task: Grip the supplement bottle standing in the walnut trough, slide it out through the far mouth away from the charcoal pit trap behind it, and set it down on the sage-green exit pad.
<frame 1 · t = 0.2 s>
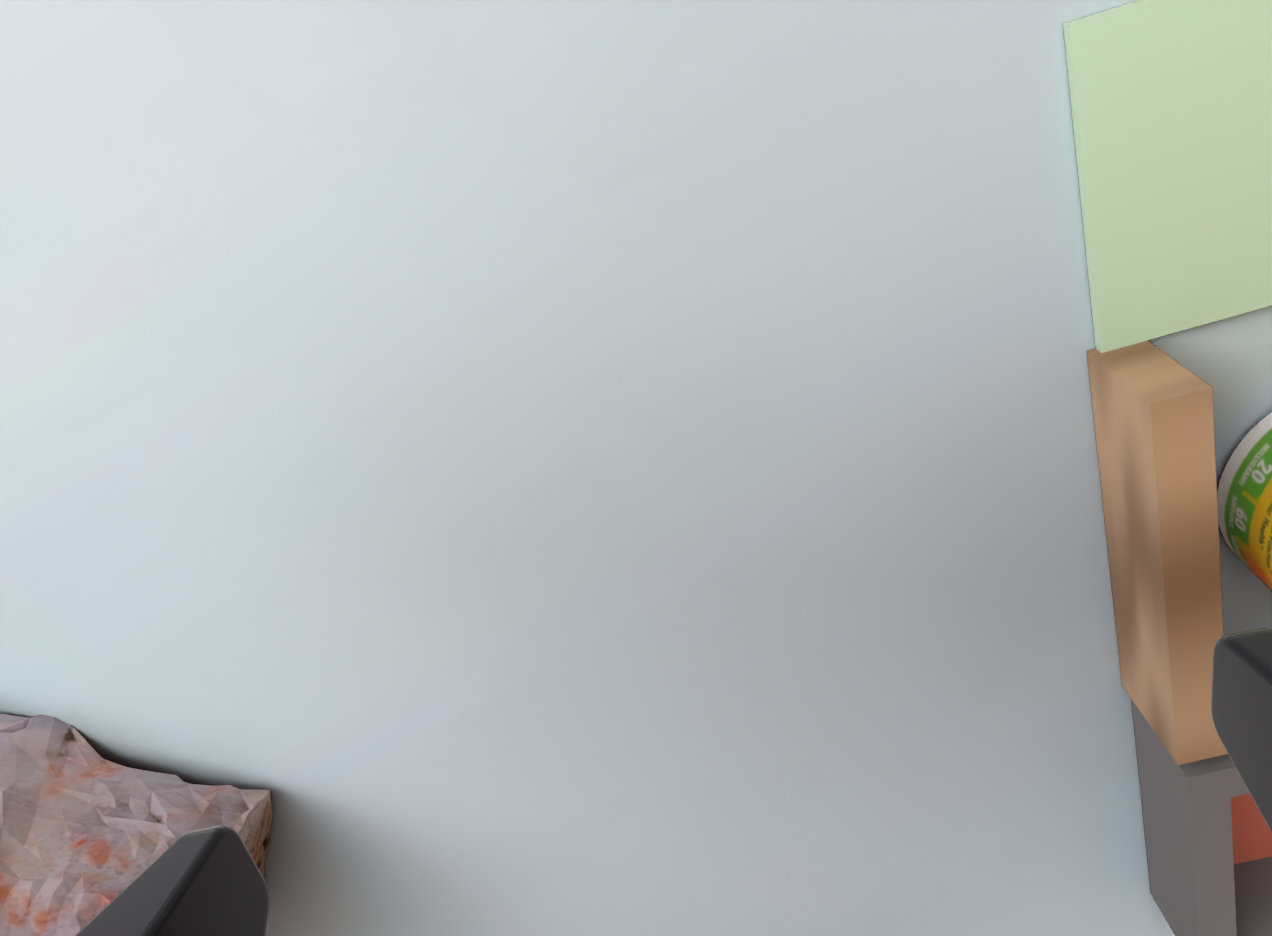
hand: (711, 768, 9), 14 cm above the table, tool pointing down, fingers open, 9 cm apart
food item: (36, 788, 28), on the table
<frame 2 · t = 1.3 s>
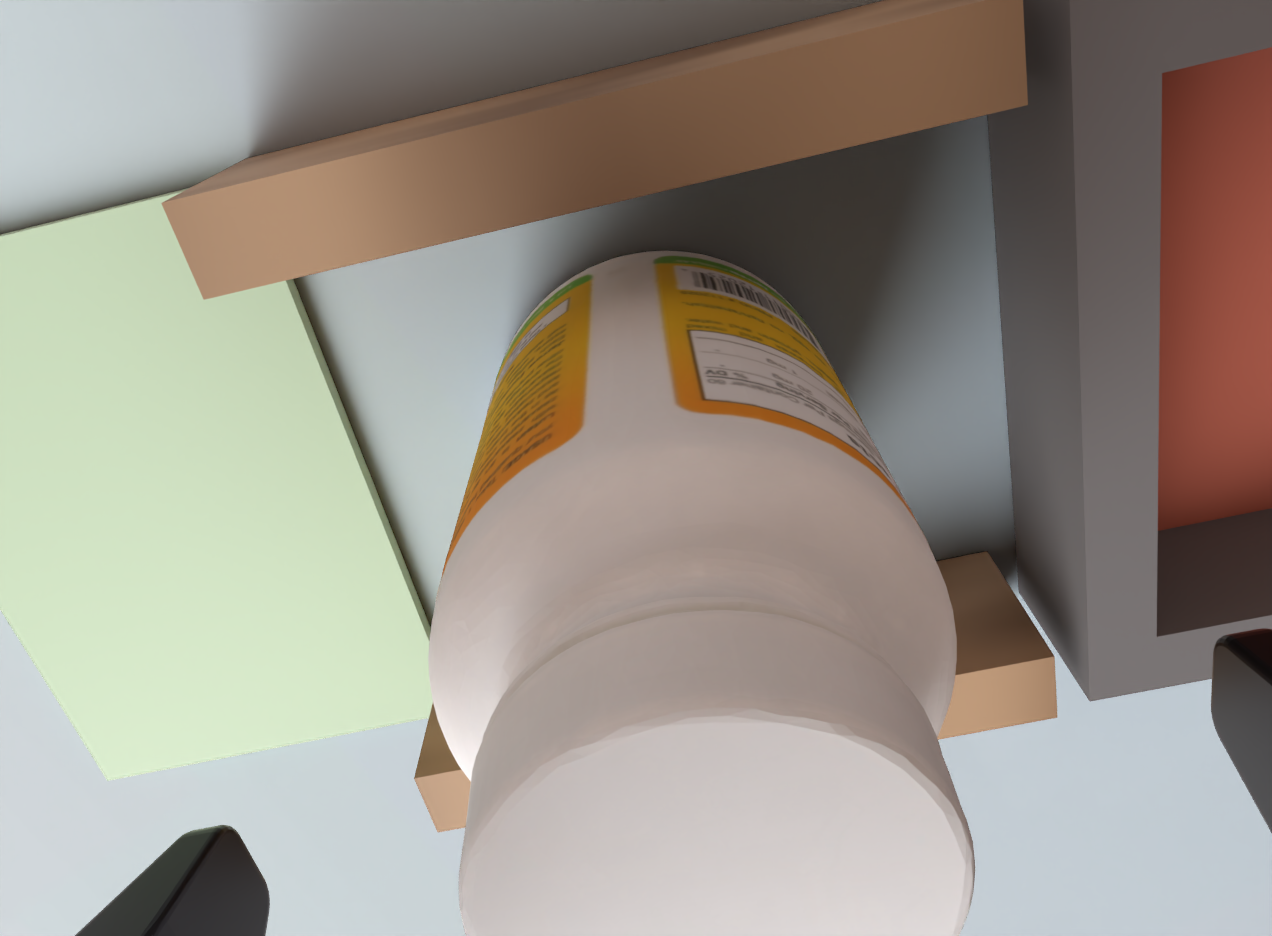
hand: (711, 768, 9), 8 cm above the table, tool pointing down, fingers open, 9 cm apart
supplement bottle: (661, 402, 16), on the table
exit pad: (172, 515, 17), on the table
pit trap: (1261, 277, 15), on the table
walnut trough: (662, 408, 16), on the table
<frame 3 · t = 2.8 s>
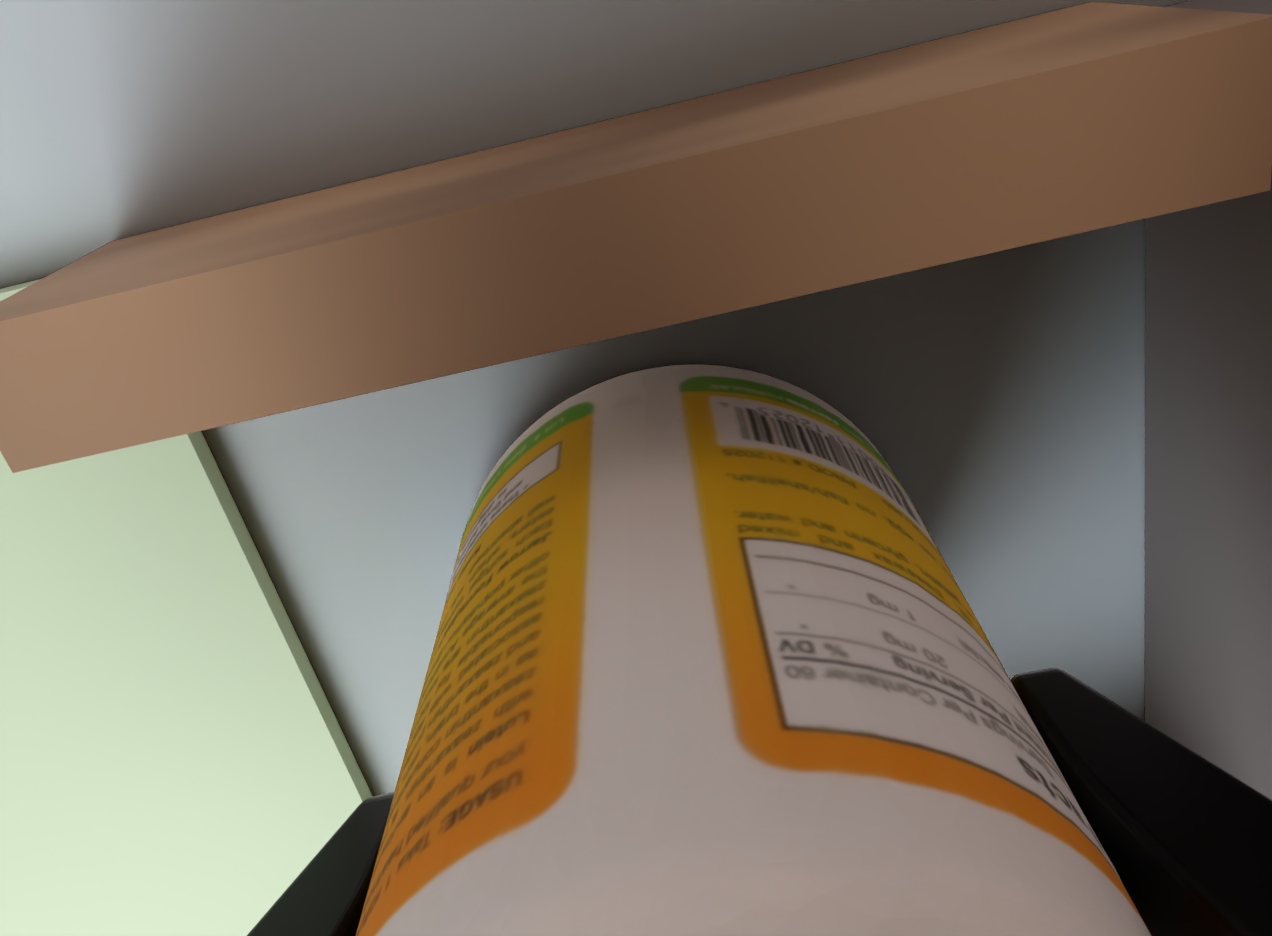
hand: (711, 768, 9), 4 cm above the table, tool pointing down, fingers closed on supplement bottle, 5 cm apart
supplement bottle: (685, 552, 12), on the table, touching gripper
exit pad: (43, 692, 13), on the table
walnut trough: (686, 561, 12), on the table
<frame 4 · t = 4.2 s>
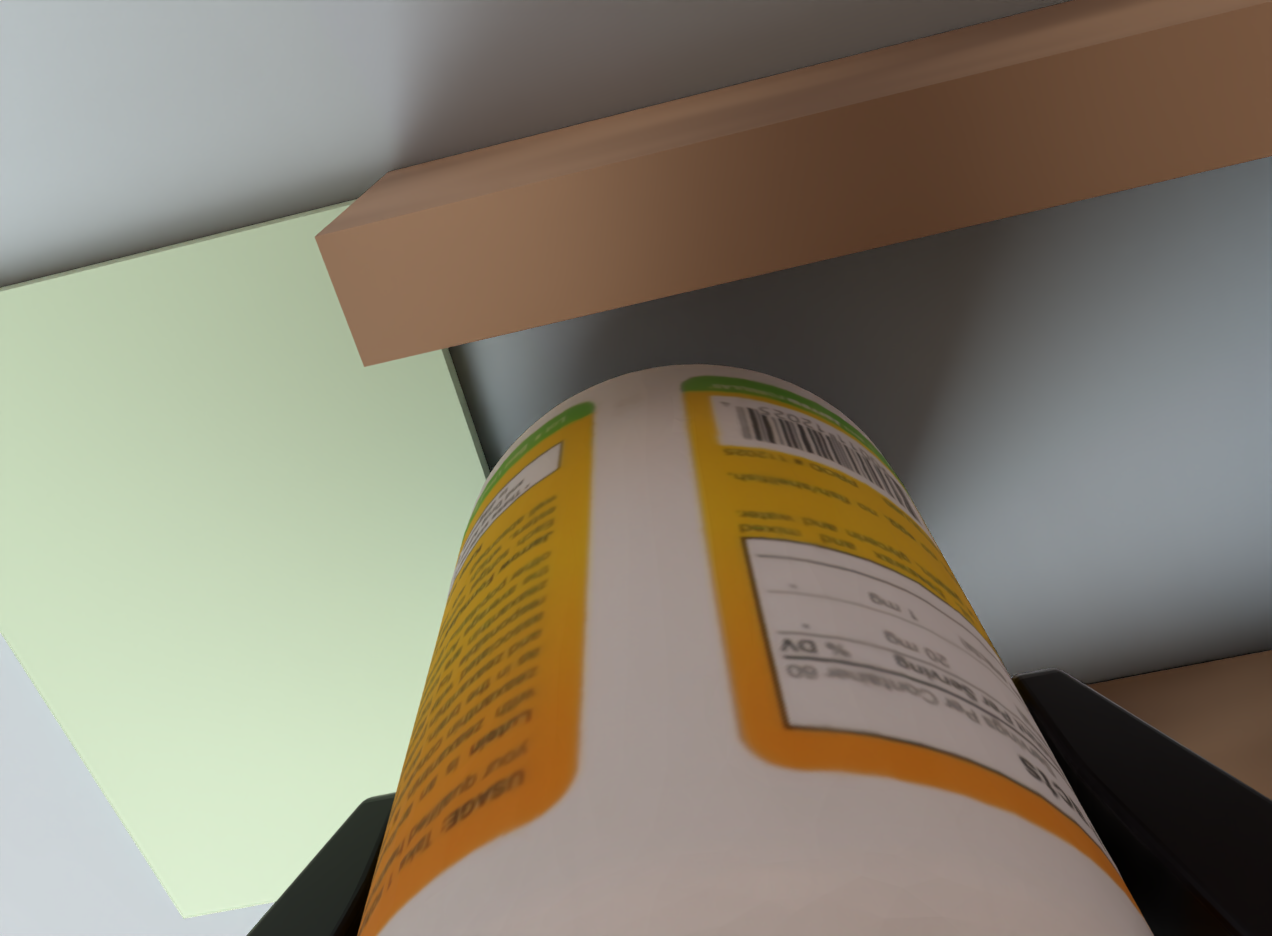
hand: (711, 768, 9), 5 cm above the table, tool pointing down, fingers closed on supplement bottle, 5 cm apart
supplement bottle: (686, 551, 12), point 1 cm above the table, touching gripper
exit pad: (273, 611, 14), on the table
walnut trough: (891, 481, 13), on the table
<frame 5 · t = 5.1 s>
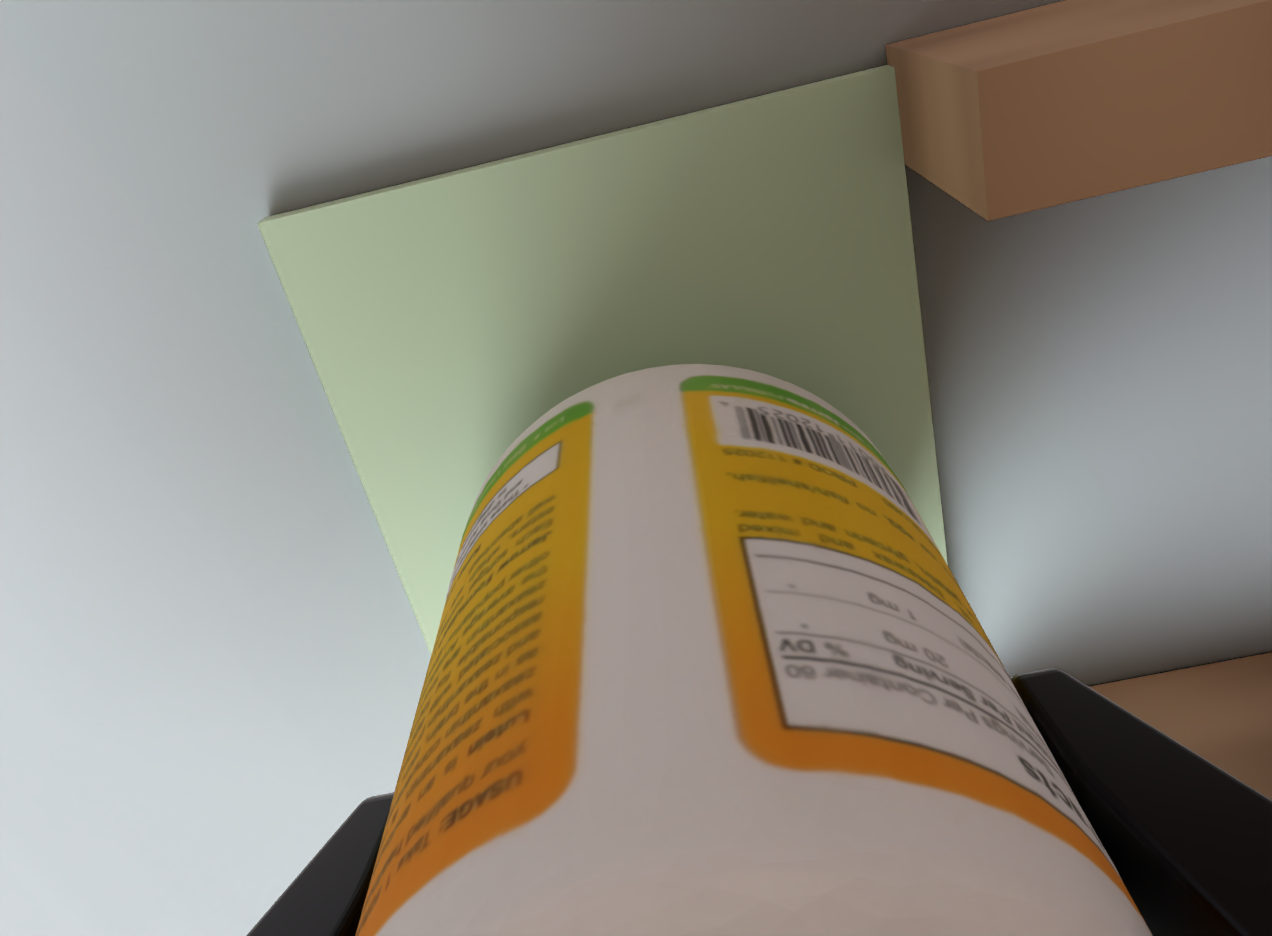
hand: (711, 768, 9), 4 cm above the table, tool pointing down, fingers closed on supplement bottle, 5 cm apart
supplement bottle: (685, 551, 12), point 1 cm above the table, touching gripper
exit pad: (665, 529, 13), on the table
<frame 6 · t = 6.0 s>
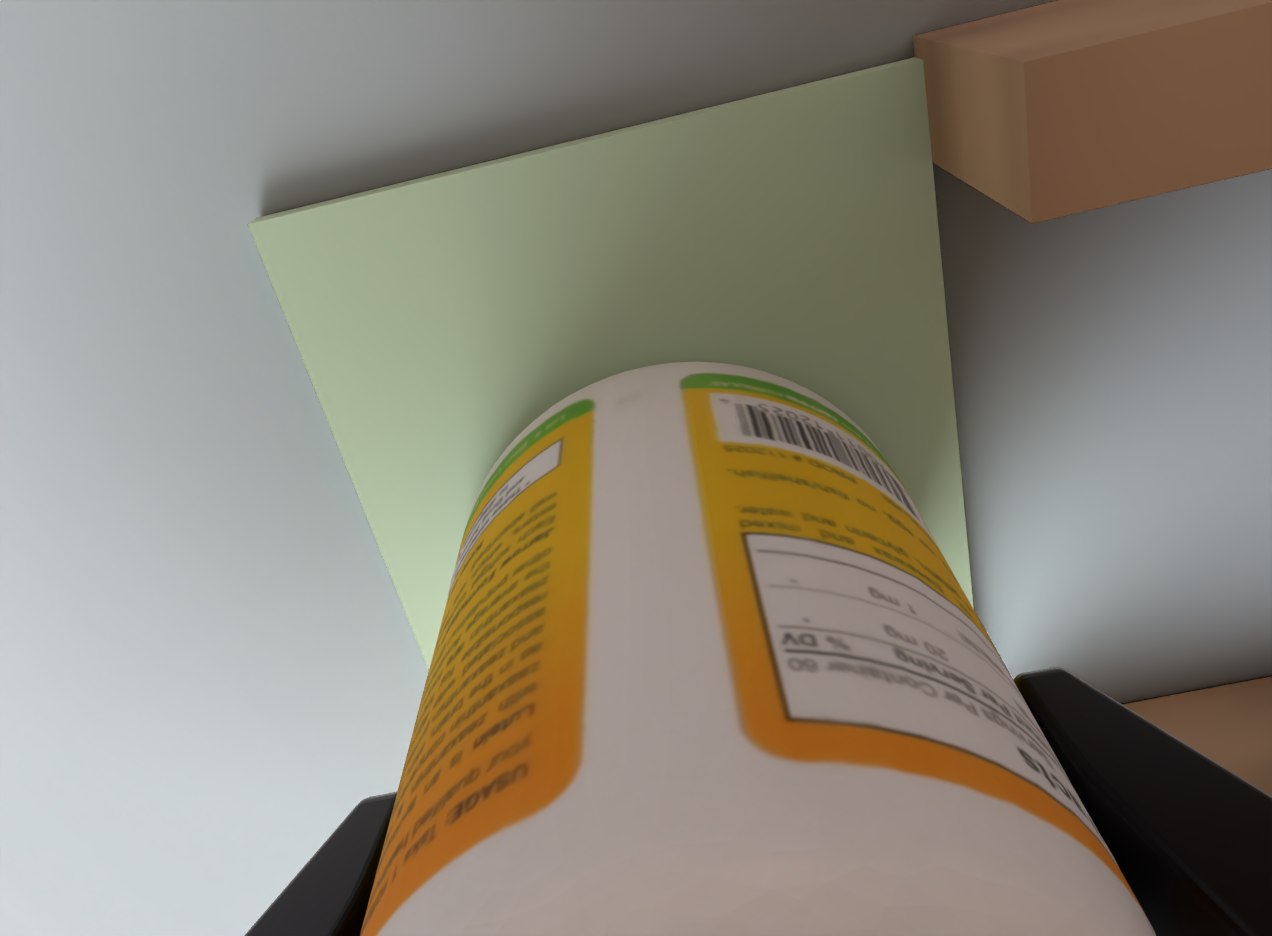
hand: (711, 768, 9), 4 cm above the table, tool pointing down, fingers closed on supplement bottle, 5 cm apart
supplement bottle: (685, 548, 12), resting on exit pad, touching gripper
exit pad: (676, 544, 13), on the table
when the fingers open (4 cm above the table, at t = 6.0 s): supplement bottle stays where it is, resting on exit pad.
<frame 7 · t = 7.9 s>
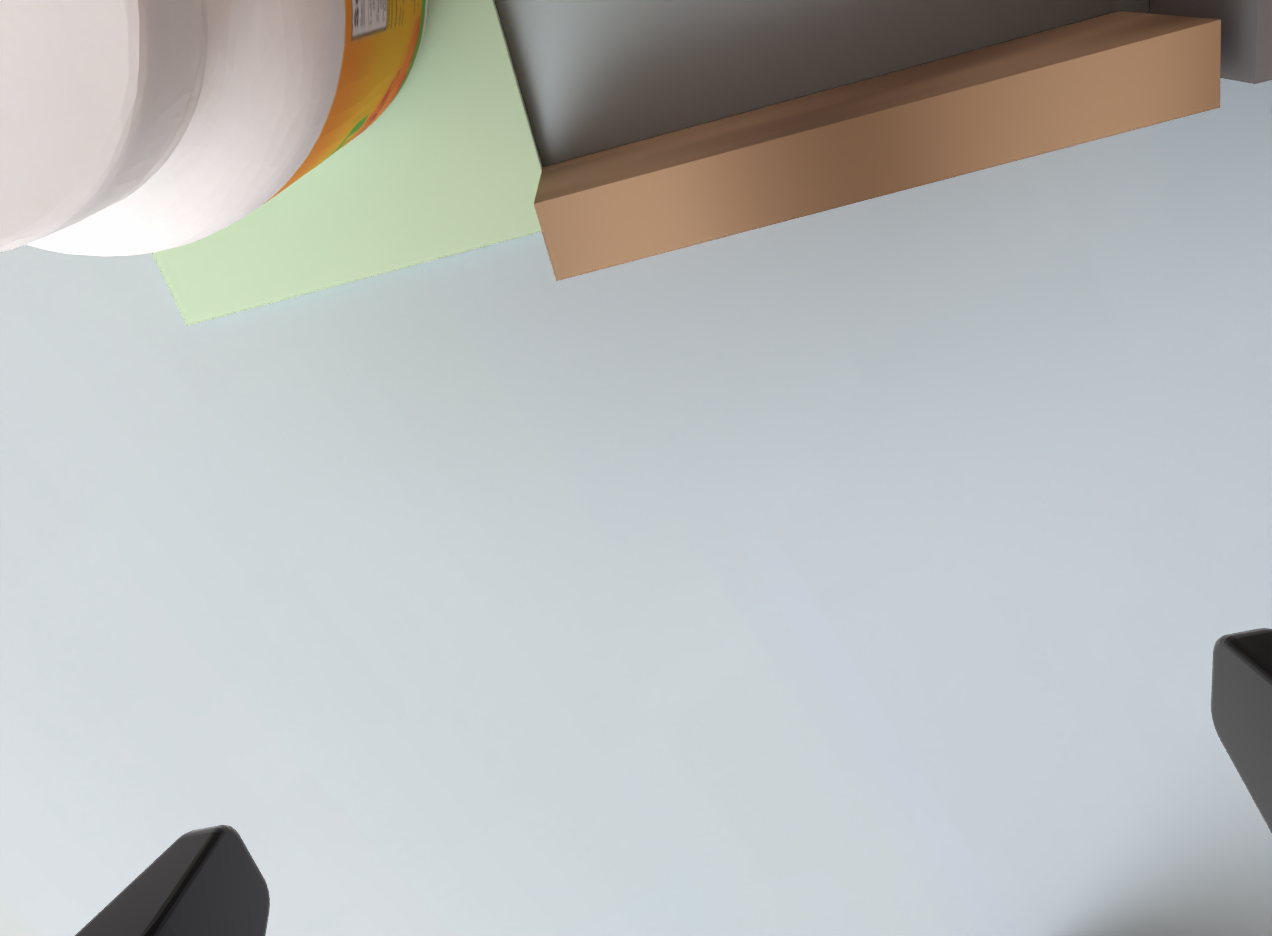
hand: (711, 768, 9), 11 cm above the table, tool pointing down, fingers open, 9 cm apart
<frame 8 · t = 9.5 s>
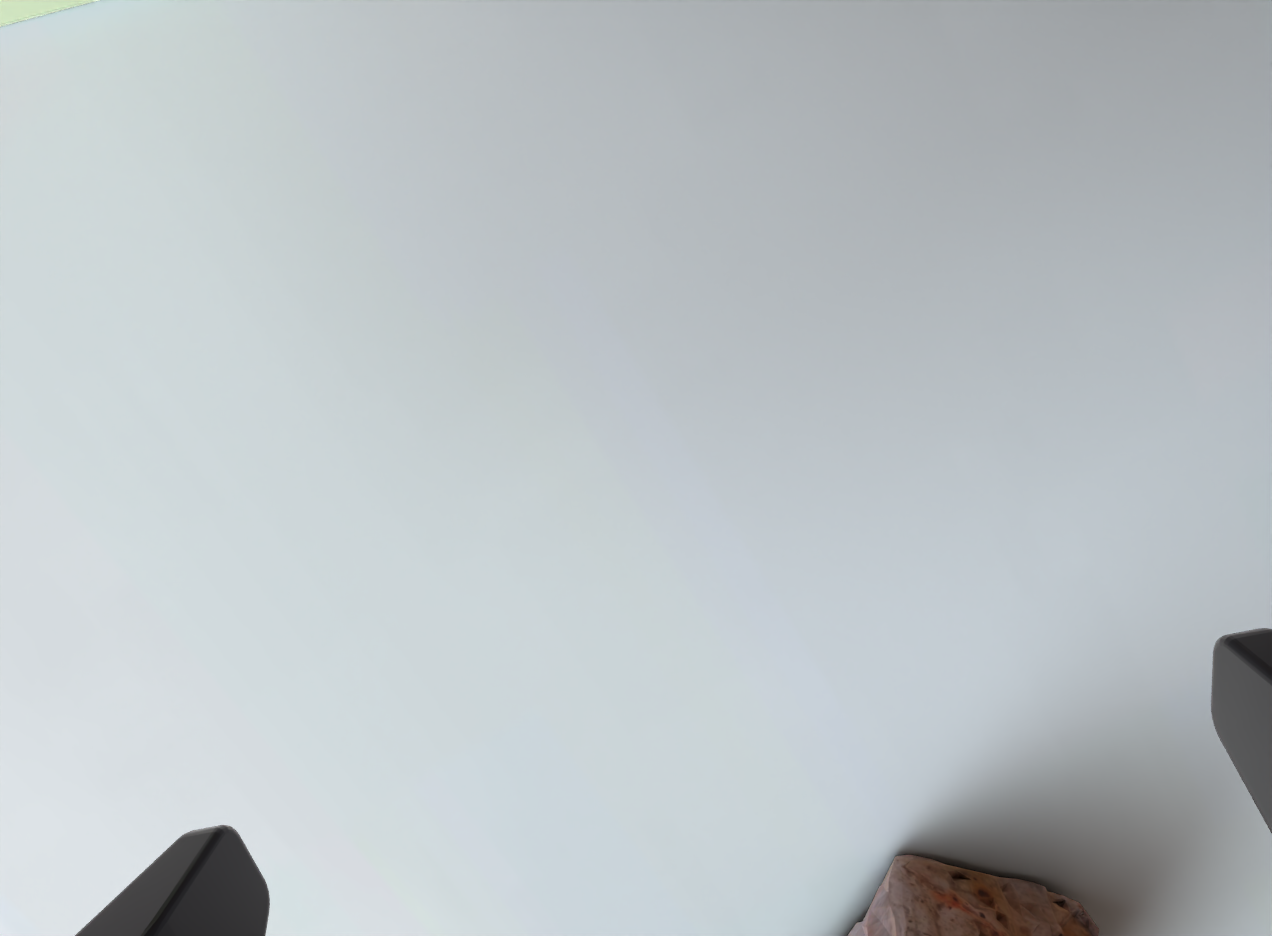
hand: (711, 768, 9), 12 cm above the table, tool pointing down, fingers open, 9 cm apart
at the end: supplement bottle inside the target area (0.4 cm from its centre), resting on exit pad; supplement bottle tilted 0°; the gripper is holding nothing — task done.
